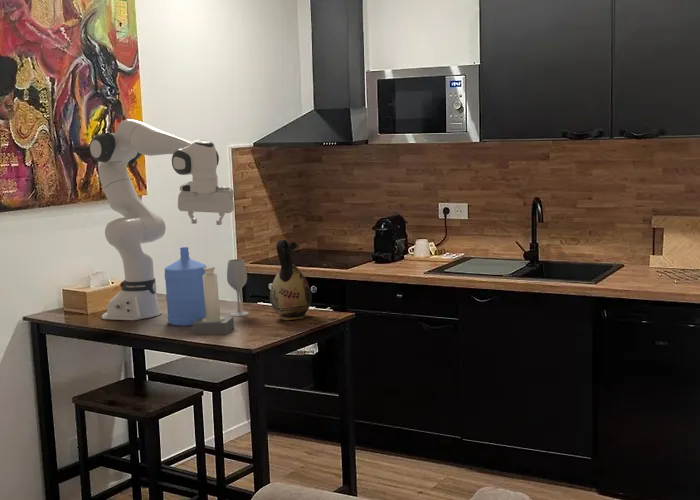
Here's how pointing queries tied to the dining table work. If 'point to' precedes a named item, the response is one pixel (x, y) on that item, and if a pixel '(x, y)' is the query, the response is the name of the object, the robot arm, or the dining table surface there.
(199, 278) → the water jug
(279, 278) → the ceramic jug
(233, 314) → the wineglass
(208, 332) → the plinth
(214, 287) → the vase
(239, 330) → the dining table surface
